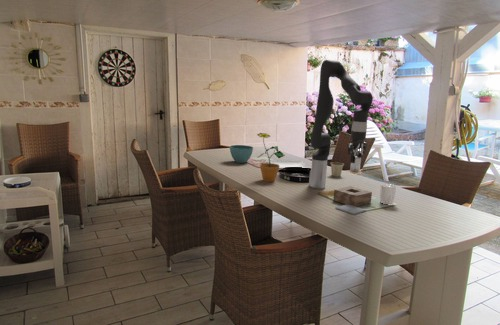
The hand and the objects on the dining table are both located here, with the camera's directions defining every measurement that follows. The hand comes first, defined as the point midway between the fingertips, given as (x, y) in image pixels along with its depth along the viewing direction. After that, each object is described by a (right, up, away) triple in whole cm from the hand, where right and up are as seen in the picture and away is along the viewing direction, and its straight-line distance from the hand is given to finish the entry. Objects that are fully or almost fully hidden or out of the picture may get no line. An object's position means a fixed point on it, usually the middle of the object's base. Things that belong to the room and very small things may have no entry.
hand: (355, 162), depth 201 cm
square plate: (-28, -5, +84) cm, 89 cm away
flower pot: (+5, -10, +66) cm, 67 cm away
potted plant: (-44, -12, +43) cm, 63 cm away
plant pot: (-63, 0, +99) cm, 118 cm away
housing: (-1, -21, +4) cm, 22 cm away
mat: (-6, -24, -11) cm, 27 cm away
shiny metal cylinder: (0, -5, +1) cm, 5 cm away
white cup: (+18, -22, +4) cm, 29 cm away
